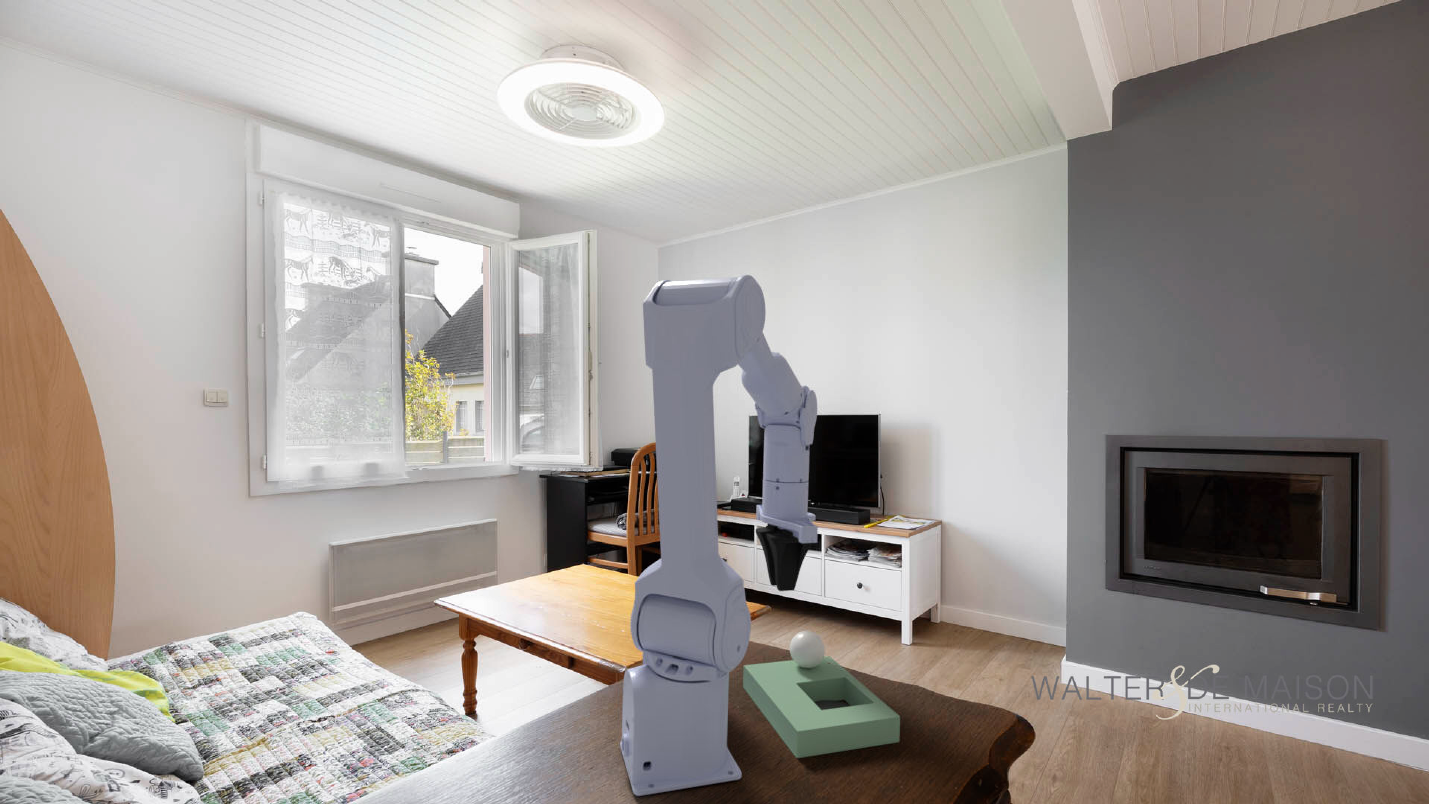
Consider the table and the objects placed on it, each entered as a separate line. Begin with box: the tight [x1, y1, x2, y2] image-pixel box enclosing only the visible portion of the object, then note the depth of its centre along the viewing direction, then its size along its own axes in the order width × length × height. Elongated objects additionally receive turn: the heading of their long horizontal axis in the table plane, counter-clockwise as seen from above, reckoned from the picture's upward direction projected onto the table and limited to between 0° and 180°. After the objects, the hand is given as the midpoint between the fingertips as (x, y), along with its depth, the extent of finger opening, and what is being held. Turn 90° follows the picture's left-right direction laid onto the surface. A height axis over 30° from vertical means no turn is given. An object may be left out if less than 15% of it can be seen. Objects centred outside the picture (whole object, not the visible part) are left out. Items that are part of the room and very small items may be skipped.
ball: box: [789, 630, 826, 668], centre depth 71 cm, size 4×4×4 cm
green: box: [742, 655, 901, 759], centre depth 66 cm, size 11×14×2 cm
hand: (782, 587), depth 79 cm, fingers closed
